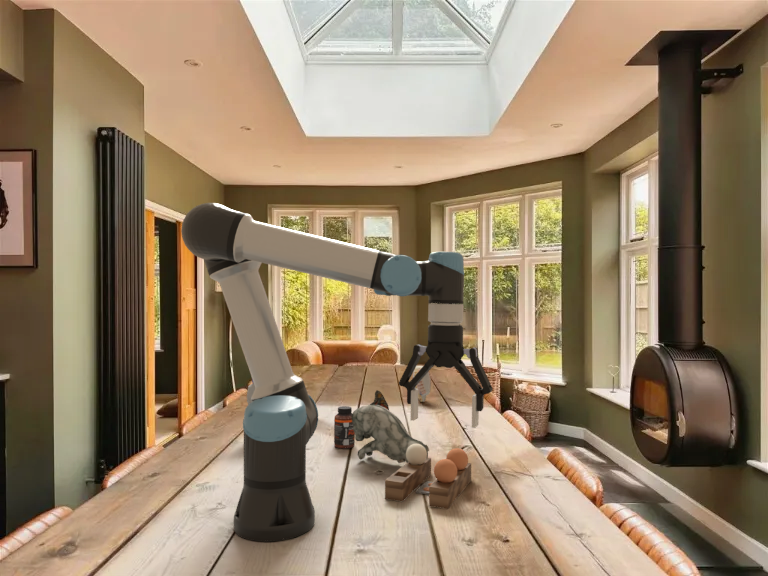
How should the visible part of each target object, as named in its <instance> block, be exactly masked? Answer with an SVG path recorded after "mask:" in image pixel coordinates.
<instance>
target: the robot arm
mask: <svg viewBox="0 0 768 576" xmlns="http://www.w3.org/2000/svg"><path fill="white" fill-rule="evenodd" d="M181 238H182V242H183V244H184V245H185V247H186V249H188V251H189V252H191V253H192V255H194V256H195V257H197V258H199V259H202V260H203V261H204V265H205V268H206V270H207V274H208V276H209V278H210V279H211V280H213V281H215V282H217V283H218V284H219V286H220V288H221V292H222V295H223V297H224V301H225V303H226V307H227V309H228V311H229V314H230V318H231V321H232V324H233V327H234V329H235V333H236V335H237V338H238V342H239V345H240V347H241V350H242V353H243V356H244V358H245V362H246V364H247V366H248V367H247V368H248V369H249V373H250V376H251V380H252V379H253V382H254V385H255V391H254V393H253V395H252V397H251V399H252V402H251V403H250V404H249V405H248V404H247V406H246V407H245V410H244V412H243V413H244V415H243V420H242V430H243V488H242V490H241V492H240V493H241V494H240V496H239V498H238V502H237V505H236V508H235V512H234V515H233V531H234V532H235V534H236V535H238V536H239V537H241V538H242V539H246V540H250V541H254V542H277V541H278V542H279V541H284V540H289V539H293V538H296V537H299V536H301V535H304V534H306V533H307V532H309V531H310V530H311V529H312V528H313V527H314V526H315V521H316V520H315V519H316V518H315V517H316V515H315V514H316V512H315V511H316V510H315V507H314V505H313V502H312V498H311V495H310V491H309V488H308V485H307V481H306V474H307V473H306V468H307V467H306V464H307V463H306V462H307V461H306V460H307V459H306V458H307V457H306V454H307V453H306V451H307V445H308V443H309V441H310V440H311V438H312V437H313V436H314V434H315V431H316V430H317V427H318V424H319V412H318V406H317V404H316V401H315V400H314V399H313V397H312V396H311V395H310V394H309V393H308V392H309V391H308V389H307V387H306V384H305V382H304V379H303V378H302V377H300V376H298V375H296V374H295V373H294V371H293V369H292V365H291V363H290V359H289V357H288V354H287V351H286V347H285V345H284V343H283V340H282V336H281V334H280V331H279V328H278V325H277V322H276V318H275V316H274V313H273V310H272V308H271V307H272V306H271V304H270V302H269V299H268V296H267V293H266V289H265V287H264V284H263V280H262V279H261V275H260V272H259V269H260V267H261V265H262V264H266V265H270V266H273V267H279V268H283V269H287V270H290V271H295V272H300V273H304V274H308V275H312V276H316V277H321V278H324V279H329V280H333V281H338V282H342V283H346V284H349V285H350V284H351V285H353V286H354V285H355V286H357V287H358V286H359V287H362V288H368V289H372V290H373V292H374V293H375V294H376V295H377V296H378V295H379V296H386V297H391V296H399V297H407V296H413V297H414V296H419V297H425V296H427V297H428V308H427V309H428V315H427V322H429V323H430V324H429V325H428V326H427V346H426V345H422V344H421V343H420V344H419V343H418V344H415V345H413V348H412V355H411V358H410V360H409V362H408V364H407V366H406V368H405V369H404V372H403V374H402V375H401V378H400V379H399V382H398V385H399V386H401V387H403V388H405V389H406V404H408V405H410V421H413V422H414V421H416V420H417V419H419V397H418V390H419V389H414V388H415V386H416V385H417V384H418V383H419V382H420V381H421V380H422V378H423V377H424V376H425V375H426V374H427V373H428V372H429V373H430V371H431V369H432V368H434V367H436V368H443V367H444V368H447V369H451V368H455V370H457V372H459V374H460V375H461V377H462V378H463V379H464V381H465V382H466V383H467V384H468V386H469V387H470V388H471V390H472V391H473V393H475V394H473V395H472V396H471V428H477V427H478V426H479V414H480V413H479V412H482V411H483V410H484V399H485V398H484V396H485V395H488V394H490V393H492V391H493V390H494V389H493V386H492V384H491V382H490V380H489V377H488V375H487V374H486V373H487V372H486V371H485V369H484V366H483V365H482V362H481V360H480V358H479V349H478V347H475V346H474V347H471V348H464V341H463V340H464V326H463V325H461V324H462V323H463V322H464V298H465V297H464V294H465V293H464V291H465V289H464V287H465V270H464V269H465V268H464V266H465V265H464V264H465V263H464V256H463V255H462V254H461V253H459V252H455V251H432V252H431V253H430V254H429V255H428V256H429V257H428V260H423V261H416V260H415V259H414V258H413V257H411V256H408V255H405V254H394V253H390V252H386V251H381V250H377V249H373V248H369V247H365V246H362V245H356V244H353V243H348V242H344V241H341V240H337V239H331V238H328V237H325V236H320V235H315V234H311V233H306V232H302V231H298V230H295V229H294V230H293V229H290V228H286V227H282V226H278V225H277V226H276V225H275V224H274V225H273V224H268V223H266V222H261V221H257V220H254V218H253V216H252V215H251V214H249V213H246V212H242V211H238V210H234V209H231V208H229V207H227V206H225V205H223V204H220V203H216V202H206V203H205V202H203V203H201V204H198V205H196V206H195V207H193V208H191V210H189V211H188V212H187V213H186V215H185V216H184V218H183V220H182V225H181ZM425 352H426V355H427V356H428V358H429V359H428V360H427V361H426V362H425V363H424V364H423V365H422V366H423V367H422V368H421V370H420V371H419V372H418V373H417V374H416V375H415V376H414V378H413V377H412V376H413V371H414V369H415V367H416V366H418V363H419V362H420V359H421V357H422V356H423V355H424V354H425ZM465 355H466V357H467V358H468V359H470V363H471V365H472V368H473V370H474V372H475V374H476V376H477V379H478V380H479V382H478V381H477V379H476V378H475V377H474V375H473V374H472V373H471V371H470V370H469V369H468V367H467V366H466V364H465V363H464V361H463V360H462V358H463V357H464V356H465ZM410 379H411V380H410Z"/></svg>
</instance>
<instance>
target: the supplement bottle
mask: <svg viewBox="0 0 768 576" xmlns="http://www.w3.org/2000/svg"><path fill="white" fill-rule="evenodd" d="M352 413H353V412H352V407H351V406H347V405H343V406H338V407H337V413H336V414H335V415H334V420H333V421H334V423H333V426H334V428H333V429H334V431H333V437H334V439H333V442H334V443H333V445H334V447H335V448H337V449H343V450H345V449H347V450H348V449H351V448H354V447H355V443H356V442H355V441H356V439H355V433H354V430H353V423H352V417H351V416H352Z"/></svg>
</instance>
